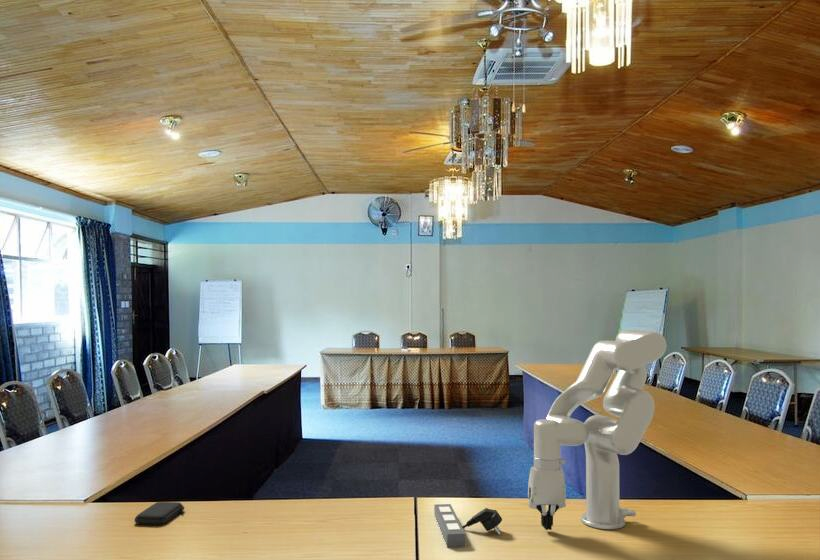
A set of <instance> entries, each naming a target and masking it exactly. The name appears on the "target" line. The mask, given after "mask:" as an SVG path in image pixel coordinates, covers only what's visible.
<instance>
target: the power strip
mask: <svg viewBox="0 0 820 560" xmlns="http://www.w3.org/2000/svg"><path fill="white" fill-rule="evenodd" d="M433 505H434V506H433V508H434V509H433V510H434V515H435V516H434V518H435V517H436V519H435V521H436V520H437V521H436V523H437V522H438V524H437V526H438V525H439V526H438V528H439V527H440V529H439V531H440V530H441V531H440V533H441V532H442V533H441V536H442V535H443V536H442V539H443V541H444V540H445V541H444V543H445V542H446V543H445V545H447V546H446V548H463V547H464V548H465V547H466V541H467V540H466V532H465V530H464V529H463V528H462V524H461V522H460V520H459V518H458V515H457V514H456V512H455V509H454V508H453V506H452V505H451V503H443V504H442V503H441V504H439V503H438V504H433Z"/></svg>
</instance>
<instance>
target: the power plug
mask: <svg viewBox="0 0 820 560" xmlns="http://www.w3.org/2000/svg"><path fill="white" fill-rule="evenodd" d="M502 521H503V518H502V516H501V515H500V513H499V512H498V510H497V509H492V508H491V509H490V508H487V507H485V508H484V509H482V510H480V511H479V512H477V514H475V515H474V516H471V518H470V519H468V520H467V521H466V524H464V525H463V526H462V525H461V526H462V528H463V530H464V529H465V528H467V527H471V526H473V525H475V524H478V523H480V524H481V525H482V527H483V528H484V530H485V531H486V532H489V531H491V530H494V531H495V533H496V534H497V536H498V535H499V536H500V535H501V528H500V527H499V524H501V523H502Z"/></svg>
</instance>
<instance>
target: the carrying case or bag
mask: <svg viewBox="0 0 820 560" xmlns="http://www.w3.org/2000/svg"><path fill="white" fill-rule="evenodd" d="M184 510H185V506H184V505H183V504H182V503H181V502H177V501H176V502H173V501H158V502H155V503H153V504H151V505H150V506H148V507H147V508H146V509H144V510H142V511H141V512H140V513H138V514H137V515H136V516H135V518H134V523H135V524H136V525H142V526H163V525H164V524H166V523H167V522H168V521H170V520H171V519H173V518H174V517H175V516H177V515H178V514H179V513H183V512H184Z"/></svg>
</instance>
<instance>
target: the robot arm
mask: <svg viewBox="0 0 820 560" xmlns="http://www.w3.org/2000/svg"><path fill="white" fill-rule="evenodd" d="M666 350H667V341H666V338H665V337H664V335H662V334H661V333H660V332H657V331H653V330H652V331H651V330H640V329H639V330H637V329H625V330H622V331H620V332H618V334H617V335H616V337H615V340H599V341H597V342H596V343H595V344H594V345H593V346H592V348H591V350H590V352H589V354H588V357H587V358H586V361H585V362H584V364H583V366H582V368H581V370H580V373H579V374H578V377H577V379H576V381H574V382H573V383H572V384H571V385H570V386H568V387H567V388H566V389H565V390H564V391H562V393H560V395H558V397H556V399H555V400H554V402H553V403H552V405H551V406H550V409H549V411H548V413H547V414H546V418H545V419H537V420H535V422H534V423H533V466H530V470H529V476H528V483H527V484H528V487H527V499H528V500H529V501H528V504H527V505H528V507H529V508H530V509H533V510H538V512H540V519H541V520H540V525H541V526H542V527H543V528H544V529H545V531H548V530H550V531H552V529H553V528H552V527H553V526H554V516H555V514H556V512H557V511H558V510H559V509H562V508H566V504H567V503H566V501H567V495H566V494H567V492H566V481H565V475H564V471H563V470H564V469H563V468H562V465H565V464H566V459H565V458H562V456H561V451H562V450H561V447H562V446H571V447H577V446H582V445H583V444H584V450H585V490H586V492H585V493H586V494H585V499H586V500H585V501H586V502H585V505H586V507H585V509H586V512H583V513H582V514H581V515H580V521H581V522H582V523H583V524H585V525H586V526H588V527H592V528H595V529H600V530H618V529H622V528H623V527H625V526H626V520H625V518H626V517H629V518H630V517H636V513H637V512H636V510H635V509H628V508H627V507H621V506H620V462H619V457H618V455H622V456H628V455H630V454H632V453H633V452H634V451H636V449H637V447H638V446H639V444H640V442H641V440H642V438H643V437H644V435H645V433H646V431H647V429H648V427H649V425H650V424H651V421H652V419H653V418H654V414H655V409H656V406H655V405H656V404H655V400H654V397H653V396H652V395H651V394H650V393H649V392H648V391H646V390H644V389H643V388H644V386H645V384H646V381H647V379H648V378H647V377H648V374H647V369H646V365H649V364H651V363H654V362H655V361H658V360H659V359H661V358H662V357H664V355H665V352H666ZM615 371H617V373H616V374H615V376H614V378H613V380H612V382H611V384H610V385H609V382H610V380H611V378H612V376H613V374H614V373H615ZM608 385H609V388H608V389H607V387H608ZM606 389H607V391H606ZM605 391H606V393H605ZM604 393H605V394H604ZM603 395H604V396H603ZM601 396H603V401H602V407H603V410H604V411H605V412H606V413H608V414H609V415H611V416H614V417H617V418H619V419H617V418H614V417H611V416H606V415H603V414H595V415H591V416H589V417H588V418H586V420H585V421H584V422H583V421H581V420H579V419H575V418H572V417H571V416H572V414H573V412H574V411H575V410H576V409H578V407H580V406H581V405H583V404H585V403H587V402H589V401H592V400H595V399H598V398H600V397H601Z"/></svg>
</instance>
